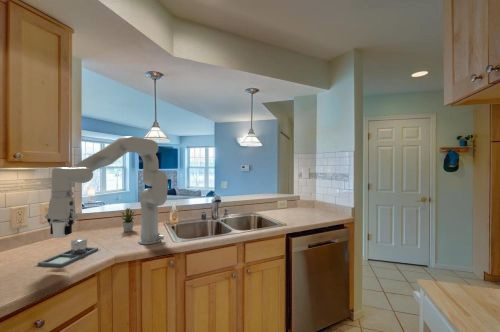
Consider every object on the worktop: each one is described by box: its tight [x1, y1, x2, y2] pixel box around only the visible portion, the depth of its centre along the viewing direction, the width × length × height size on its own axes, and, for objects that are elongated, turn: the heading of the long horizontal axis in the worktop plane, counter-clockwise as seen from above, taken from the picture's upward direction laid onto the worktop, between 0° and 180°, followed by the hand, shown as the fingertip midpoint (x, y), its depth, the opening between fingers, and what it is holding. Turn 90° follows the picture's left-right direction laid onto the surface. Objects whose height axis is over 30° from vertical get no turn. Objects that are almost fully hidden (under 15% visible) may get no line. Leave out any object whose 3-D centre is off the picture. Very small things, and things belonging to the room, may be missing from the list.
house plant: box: [117, 207, 138, 233], centre depth 175 cm, size 14×14×16 cm
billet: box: [70, 238, 88, 255], centre depth 126 cm, size 7×7×6 cm
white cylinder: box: [52, 220, 70, 239], centre depth 115 cm, size 7×7×7 cm
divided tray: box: [34, 246, 101, 269], centre depth 121 cm, size 14×24×2 cm, turn 173°
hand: (61, 233), depth 115 cm, fingers closed on white cylinder, 6 cm apart
